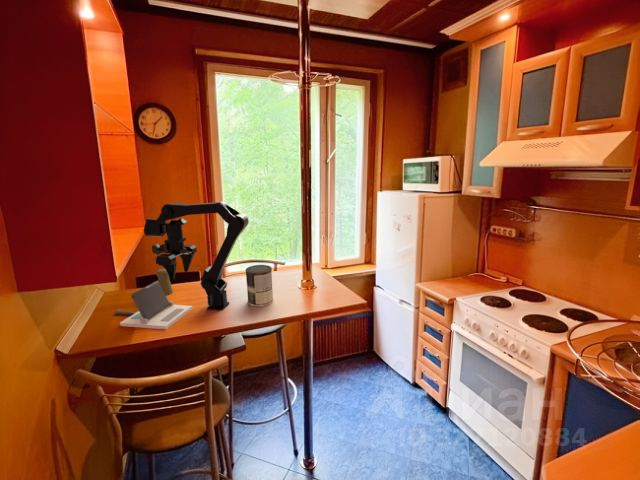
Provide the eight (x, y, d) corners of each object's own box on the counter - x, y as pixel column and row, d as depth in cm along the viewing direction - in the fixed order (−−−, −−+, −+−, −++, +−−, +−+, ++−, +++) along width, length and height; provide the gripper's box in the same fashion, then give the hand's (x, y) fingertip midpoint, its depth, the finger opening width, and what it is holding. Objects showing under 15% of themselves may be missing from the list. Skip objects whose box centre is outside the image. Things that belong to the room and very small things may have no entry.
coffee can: (243, 305, 136) (241, 271, 133) (253, 296, 146) (251, 264, 143) (268, 307, 134) (266, 273, 131) (276, 297, 144) (275, 265, 141)
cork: (167, 296, 148) (164, 271, 145) (154, 295, 149) (151, 271, 146) (175, 291, 153) (172, 267, 151) (163, 290, 155) (160, 266, 152)
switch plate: (192, 308, 134) (192, 301, 134) (166, 329, 118) (165, 321, 118) (131, 304, 139) (130, 298, 139) (98, 324, 123) (96, 316, 122)
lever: (171, 304, 134) (158, 279, 133) (147, 320, 121) (132, 293, 119) (168, 305, 135) (155, 281, 133) (144, 322, 121) (129, 295, 120)
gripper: (170, 230, 141) (174, 267, 144) (139, 241, 123) (145, 282, 126) (195, 231, 139) (199, 268, 142) (167, 242, 121) (172, 284, 124)
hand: (179, 275), depth 134 cm, fingers open, 9 cm apart
